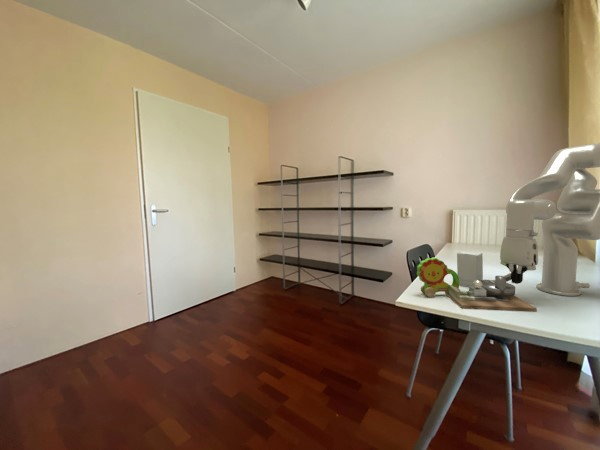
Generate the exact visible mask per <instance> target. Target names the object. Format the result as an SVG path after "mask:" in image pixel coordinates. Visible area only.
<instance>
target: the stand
mask: <svg viewBox="0 0 600 450" xmlns="http://www.w3.org/2000/svg"><path fill="white" fill-rule="evenodd" d="M444 294H445V295H446V296H448V298H450V299H451V300H452V301H453V302H454V303H455V304H456V305H457V306H458V307H460V308H461V309H465V310H466V309H467V310H469V309H471V310H488V311H489V310H492V311H516V312H518V311H519V312H537V307H535V306H534V305H532V304H530V303H528V302H527V301H526V300H525V301H524V300H523V299H521V298H519V297H517V296H516V295H513V296H506V297H505V298H504V299H501V298H497V297H495V296H494V295H491V294H487V293H486V297H471V296H469V290H461V291H459V290H457V289H456V288H455V287H453V286H449V293H448V292H444Z"/></svg>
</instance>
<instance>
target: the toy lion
mask: <svg viewBox="0 0 600 450" xmlns="http://www.w3.org/2000/svg"><path fill="white" fill-rule="evenodd" d="M416 270H417V271H416V276H417V277H419V280H420V281H421V282H422V283H423V285H422V286H420V291H421V293H422V294H424V295H425V296H427V297H429V298H433V297H435V296H436V293H441V292H444V293H445V292H448V293H449V286H453V287H455V288H456V289H457V290H459V291H462V290H461V289H460V285H459V277H458V275H457V271H455V270H453V269H450V268H449V267H448V265H446V264H445V262H444V261H443V260H440V259H439V258H437V257H434V256H433V257H431V258H430V257H429V258H428V257H426V258H425V259H424V260H421V261H420V263H419V264H417V266H416ZM448 275H451V276H452V284H449V283H447V282H446V281H444V279H445V277H446V276H448Z"/></svg>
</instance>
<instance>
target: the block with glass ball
mask: <svg viewBox="0 0 600 450" xmlns="http://www.w3.org/2000/svg"><path fill="white" fill-rule="evenodd" d="M482 286H483V284H482V282H481V281H479V280H475V281H474V282H473V286H469V287H468V291H469V296H471V297H486V290H485V289H484V288H482Z"/></svg>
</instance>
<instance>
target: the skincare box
mask: <svg viewBox="0 0 600 450" xmlns="http://www.w3.org/2000/svg"><path fill="white" fill-rule="evenodd" d="M456 265H457V266H456V267H457V268H456V269H457V271H456V273H457V275H458V277H459V286H464V287H468V288H469V286H473V282H474V281H475V280H484V278H483V277H484V274H483V273H484V272H483V271H484V269H483V268H484V265H483V252H475V251H466V250H465V251H464V250H462V251H458V252H457V253H456Z"/></svg>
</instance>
